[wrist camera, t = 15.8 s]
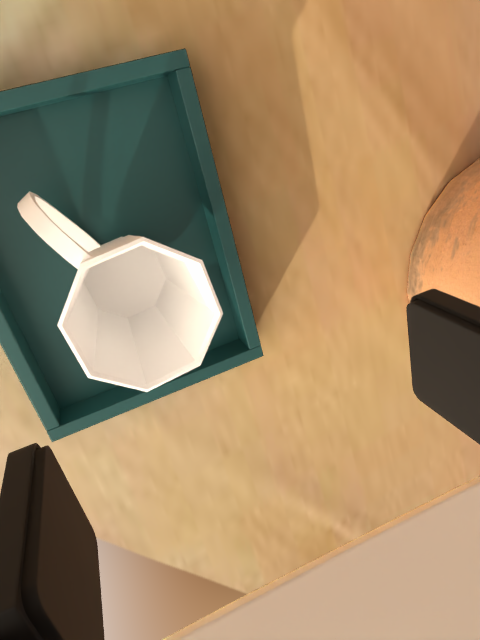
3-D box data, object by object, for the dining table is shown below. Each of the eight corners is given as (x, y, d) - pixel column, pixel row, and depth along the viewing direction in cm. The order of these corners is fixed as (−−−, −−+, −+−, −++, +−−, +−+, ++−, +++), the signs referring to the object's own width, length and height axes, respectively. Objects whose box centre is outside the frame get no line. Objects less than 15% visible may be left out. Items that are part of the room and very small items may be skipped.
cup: (126, 352, 28) (147, 420, 21) (-19, 239, 24) (-54, 278, 17) (205, 271, 28) (253, 311, 21) (76, 141, 24) (82, 139, 17)
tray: (-100, 122, 21) (-119, 119, 19) (174, 57, 25) (185, 48, 22) (52, 419, 29) (52, 442, 27) (249, 341, 32) (263, 356, 30)
